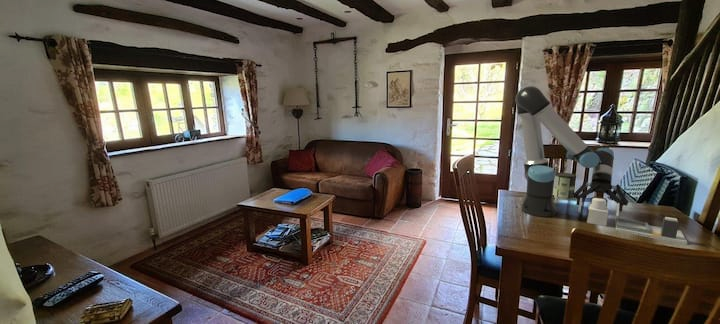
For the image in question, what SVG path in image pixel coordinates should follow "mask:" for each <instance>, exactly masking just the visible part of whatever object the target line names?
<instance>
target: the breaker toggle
mask: <svg viewBox="0 0 720 324" xmlns="http://www.w3.org/2000/svg"><path fill="white" fill-rule="evenodd" d="M679 224H680V221H679V220H678V219H677V218H676V217H669V216H665V217H663V218H662V224H661V227H662V228H661V236H664V237H669V238H674V239H676V235H677V230H679V229H678V228H679Z"/></svg>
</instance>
